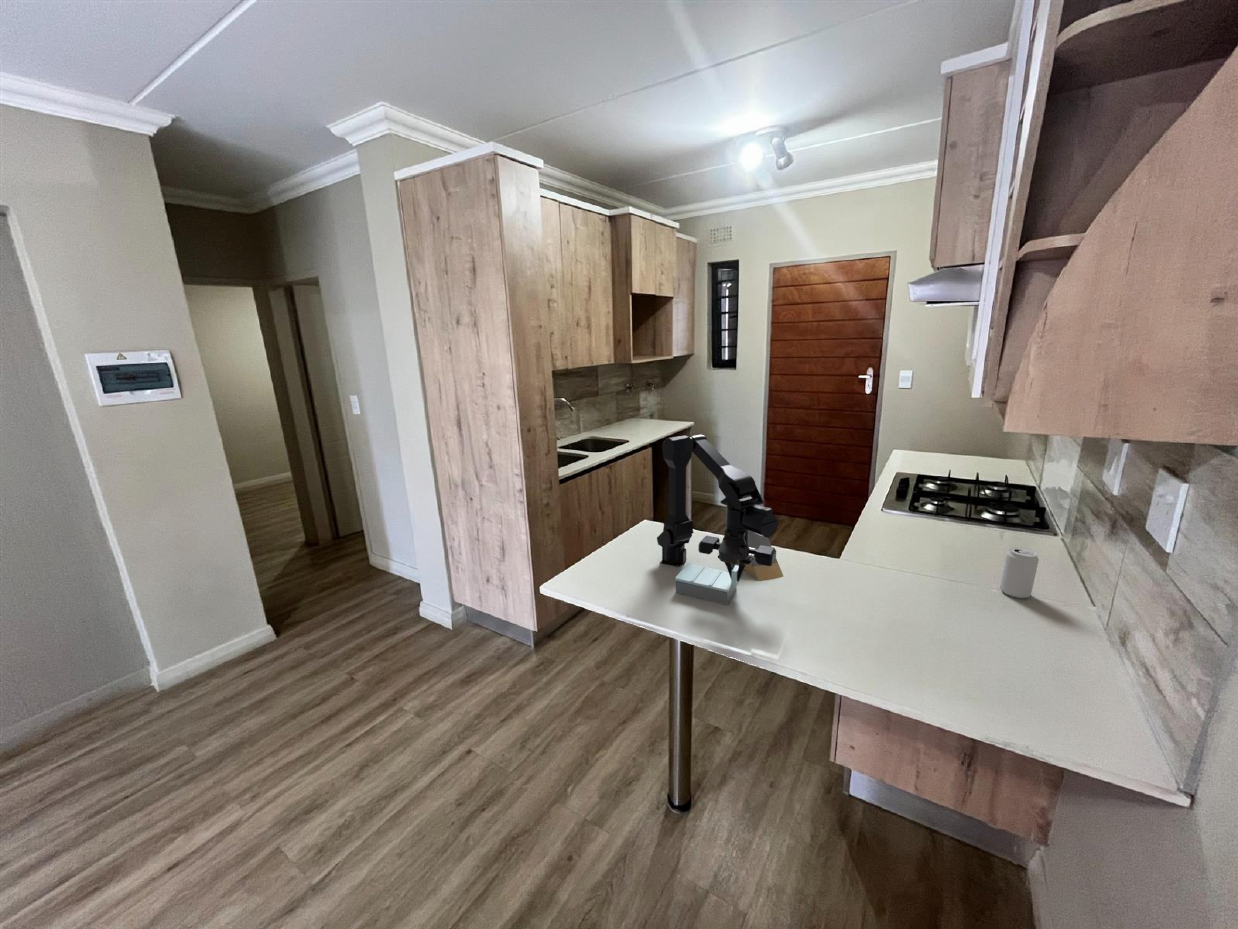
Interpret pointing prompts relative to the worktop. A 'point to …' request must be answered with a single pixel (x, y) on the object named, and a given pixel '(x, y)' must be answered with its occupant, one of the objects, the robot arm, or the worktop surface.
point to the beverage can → (1019, 572)
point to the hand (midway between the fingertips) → (735, 580)
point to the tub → (704, 592)
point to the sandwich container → (757, 569)
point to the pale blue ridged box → (708, 577)
